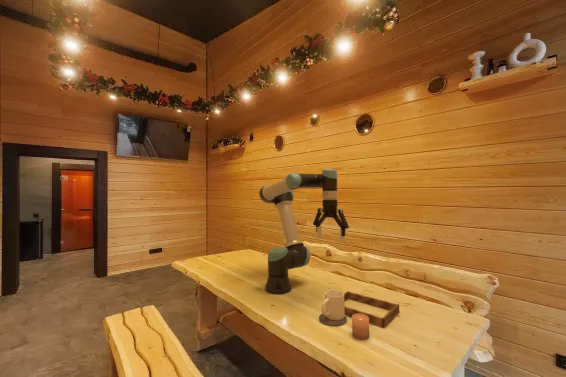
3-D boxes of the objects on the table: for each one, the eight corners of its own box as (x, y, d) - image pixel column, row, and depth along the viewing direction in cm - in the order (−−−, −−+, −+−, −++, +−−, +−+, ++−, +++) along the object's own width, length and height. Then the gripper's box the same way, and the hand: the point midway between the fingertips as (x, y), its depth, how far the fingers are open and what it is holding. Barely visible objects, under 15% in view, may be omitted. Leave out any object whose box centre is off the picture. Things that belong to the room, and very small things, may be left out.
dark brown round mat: (313, 320, 114) (313, 318, 115) (328, 310, 123) (328, 309, 123) (337, 329, 106) (337, 327, 106) (351, 318, 115) (351, 317, 115)
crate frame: (329, 309, 124) (329, 302, 124) (347, 297, 138) (347, 291, 138) (384, 328, 107) (384, 319, 107) (399, 312, 120) (399, 304, 120)
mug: (328, 325, 108) (328, 300, 109) (315, 318, 115) (315, 294, 115) (348, 317, 115) (348, 293, 115) (334, 310, 122) (334, 288, 122)
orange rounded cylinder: (349, 335, 102) (348, 317, 102) (356, 329, 106) (356, 311, 107) (365, 341, 97) (364, 322, 98) (372, 334, 102) (371, 316, 102)
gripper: (306, 199, 140) (306, 238, 140) (347, 200, 122) (348, 245, 122) (314, 198, 145) (315, 236, 145) (355, 199, 128) (356, 243, 128)
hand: (330, 240), depth 134 cm, fingers open, 13 cm apart
